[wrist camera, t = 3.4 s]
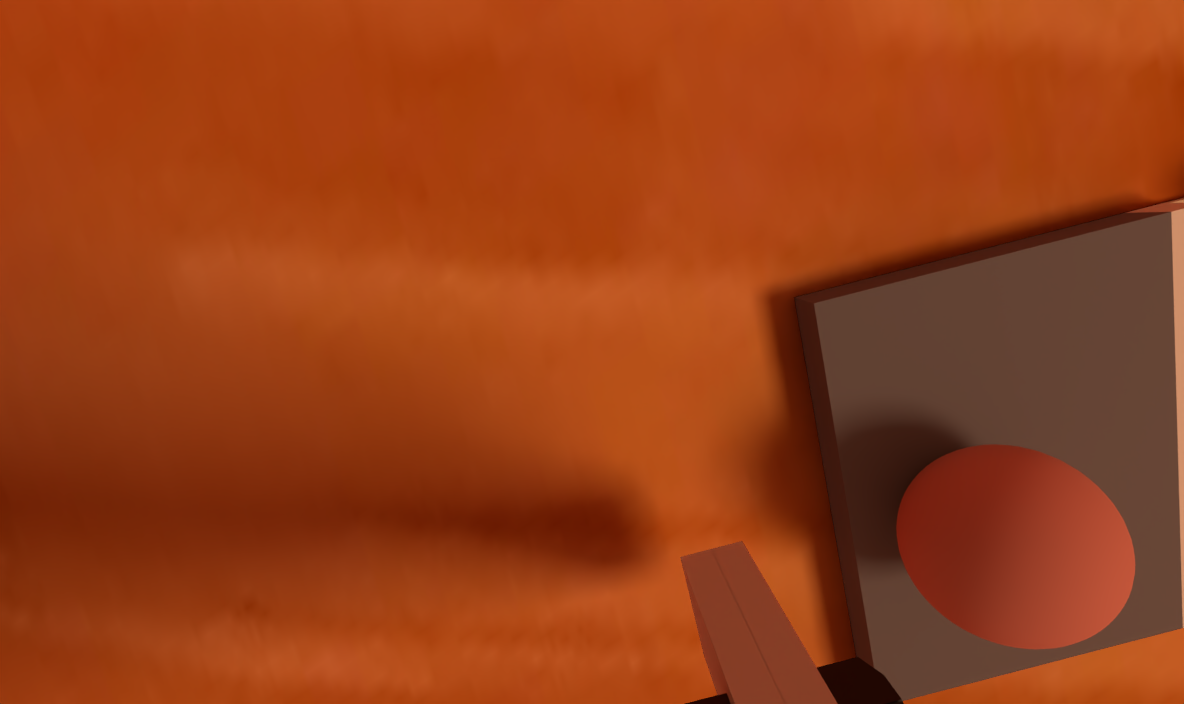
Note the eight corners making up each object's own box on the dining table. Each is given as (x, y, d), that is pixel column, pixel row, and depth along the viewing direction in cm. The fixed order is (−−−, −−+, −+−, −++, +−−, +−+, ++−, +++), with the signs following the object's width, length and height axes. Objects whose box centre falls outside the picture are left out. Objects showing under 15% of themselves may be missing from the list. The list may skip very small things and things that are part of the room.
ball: (831, 536, 16) (935, 653, 11) (919, 391, 15) (1065, 458, 11) (964, 596, 16) (1110, 727, 12) (1055, 459, 16) (1245, 549, 11)
